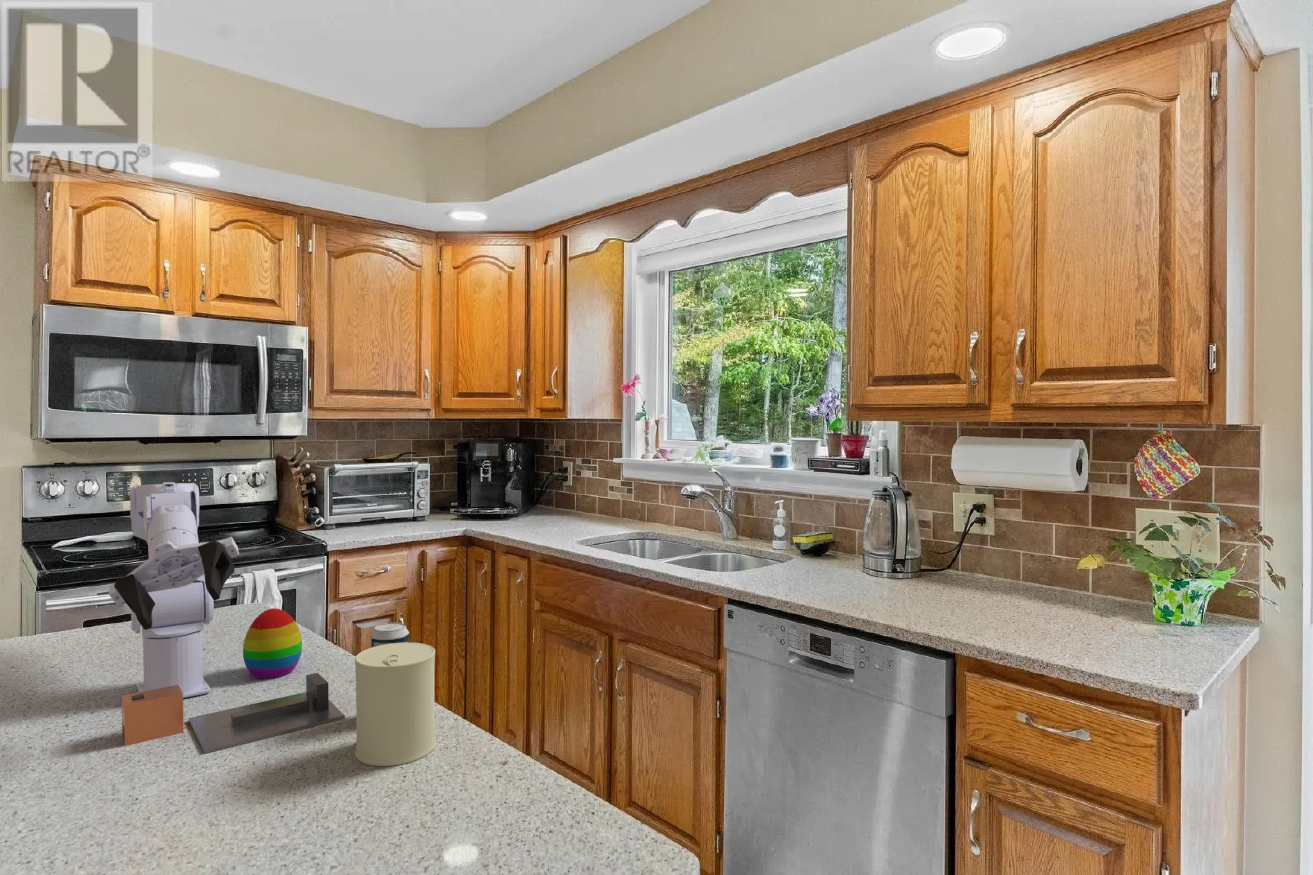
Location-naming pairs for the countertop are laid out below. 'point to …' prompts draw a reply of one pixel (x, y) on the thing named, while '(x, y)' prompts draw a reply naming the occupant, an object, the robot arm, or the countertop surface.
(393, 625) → the beer can
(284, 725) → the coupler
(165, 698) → the orange block
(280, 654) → the decorative egg
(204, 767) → the countertop surface
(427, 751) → the can
